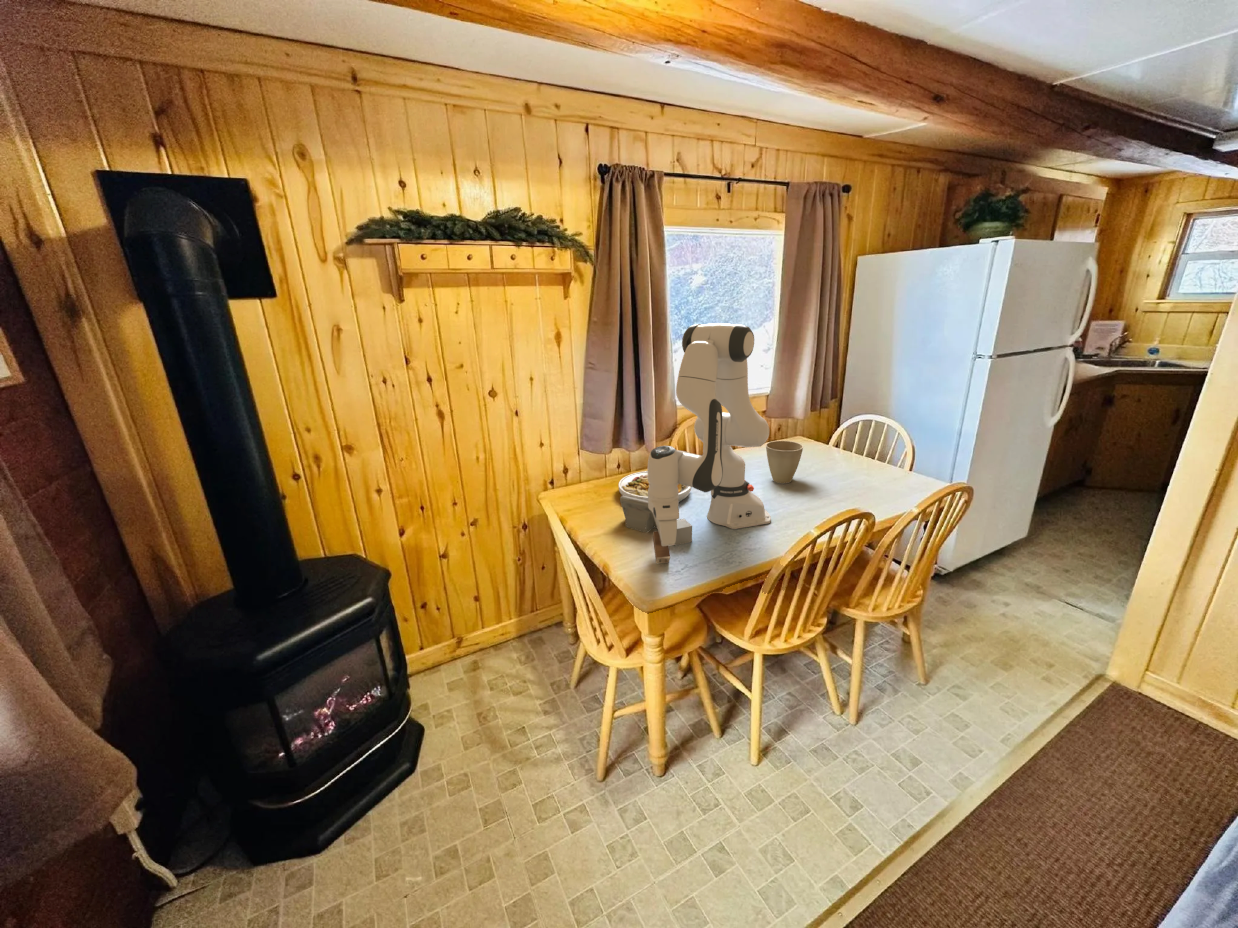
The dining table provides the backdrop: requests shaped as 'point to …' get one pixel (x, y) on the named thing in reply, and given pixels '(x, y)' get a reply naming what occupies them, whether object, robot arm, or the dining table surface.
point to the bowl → (644, 486)
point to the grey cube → (683, 532)
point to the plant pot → (783, 459)
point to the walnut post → (660, 549)
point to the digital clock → (637, 514)
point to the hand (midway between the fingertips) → (663, 543)
